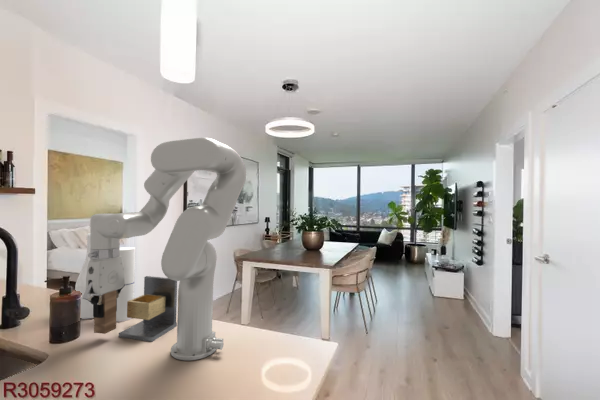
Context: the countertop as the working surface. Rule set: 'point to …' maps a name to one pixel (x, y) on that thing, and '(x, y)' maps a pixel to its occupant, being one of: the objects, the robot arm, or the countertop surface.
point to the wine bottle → (84, 286)
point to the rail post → (107, 314)
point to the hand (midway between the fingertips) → (105, 313)
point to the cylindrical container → (126, 283)
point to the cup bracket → (153, 310)
